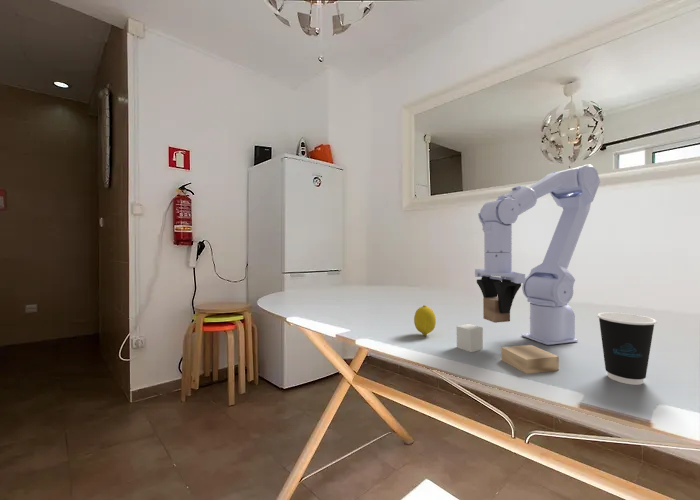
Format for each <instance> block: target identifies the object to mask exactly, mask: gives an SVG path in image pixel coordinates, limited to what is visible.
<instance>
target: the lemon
mask: <svg viewBox="0 0 700 500" xmlns="http://www.w3.org/2000/svg"><path fill="white" fill-rule="evenodd" d="M436 323H437V321H436V315H435V311H434V310H432V308H430V307H429V306H427V305H426V304H424V305H423V306H420V307H419V308H417V309H416V311H415V313H414V318H413V324H414V326H415V328H416V330H417V331H418V332H419V333H421V334H422V335H423V336H427V335H428V334H430V333H432V332H433V331H434V329H435V328H436Z"/></svg>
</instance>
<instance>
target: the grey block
mask: <svg viewBox="0 0 700 500" xmlns="http://www.w3.org/2000/svg"><path fill="white" fill-rule="evenodd" d="M483 330H484V328H483V327H482V326H478V325H474V324H470V323H467V324H466V323H465V324H460V325H456V348H457V349H461V350H463V351H466V352H470V353H474V352H477V351H481V350H483V349H484V348H483V347H484V340H483V339H484V337H483V335H484V334H483V333H484V331H483Z"/></svg>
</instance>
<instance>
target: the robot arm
mask: <svg viewBox="0 0 700 500" xmlns="http://www.w3.org/2000/svg"><path fill="white" fill-rule="evenodd" d="M600 180H601V179H600V176H599V173H598V170H597V169H596V167H595V166H593V165H592V164H584V165H582V166H581V165H580V166H577V167H573V168H569V169H564V170H560V171H552V172H550V173H548V174H545V176H544V177H543V178H541V179H540V180H537V181H536V182H535V183H534V184H533V183H532V184H531V185H530V186H526V185H516V186H513V187H512V188H511V191H510V192H508V193H506V194H500V195H498V196H497V199H496V200H494V201H493V200H492V201H487V202H485V203H484V204H483V205H482V207H481V209H480V211H479V213H478V219H479V222H480V223H481V226H482V231H483V234H484V241H483V242H484V245H483V246H484V247H483V249H484V250H483V252H484V258H483V259H484V268H474V276H475V277H477V278H479V279H476V284H477V285H478V287H479V289H480V291H481V294H482V296H483V298H484V297H498V302H499V311H500V313H510V314H511V308H512V306H513V302H514V299H515V297H516V295H517V293H518V291H519V289H520V288H521V289H522V294H523V295H524V297H525V298H526V299H527V300H526V301H527V302H528V303H529V333H528V332H527V333H521V337H523V338H527V339H530V340H532V341H534V342H535V341H536V342H537V343H541V344H544V345H546V346H550V345H558V344H569V343H577V342H579V339H577V338H576V336H575V335H576V333H575V332H576V331H575V329H576V322H575V321H576V315H575V311H574V309H573V308H572V307H571V306H570V305H569V303H570V301H571V300H572V298H573V296H574V284H575V281H576V278H575V277H574V276H573V274H572V273H571V272H570V271H569V270H568V267H569V265H570V263H571V260H572V258H573V255H574V252H575V249H576V246H577V244H578V241H579V238H580V237H581V233H582V231H583V229H584V225H585V223H586V221H587V217H588V215H589V212H590V210H591V204H592V203H593V202H594V199H595V197H596V194H597V191H598V189H599V186H600V183H601V181H600ZM548 194H550V196H551V198H552V199H553V201H554V202H555V203H556V205H557V206H558V207H560V208H562V211H561V215H560V217H559V219H558V223H557V225H556V228H555V230H554V232H553V235H552V238H551V240H550V242H549V245H548V248H547V251H546V252H545V256H544V258H543V260H542V262H541V263H539V264H538V265H537V266H535V267H533V268H531V269H530V272H529V274H528V276H526V274H525V273H519V272H515V271H512V257H513V255H512V254H513V253H512V250H513V249H512V248H513V247H512V244H513V243H512V239H513V238H512V236H513V235H512V233H513V232H512V228H513V227H512V226H513V224H514V223H516V221H517V220H518V217H519V216H520V215H522V214H524V213H526V212H528V210H531V209H532V208H534V206H536V204H537V202H538V201H537V200H538V199H539V198H542V197H544V196H546V195H548Z"/></svg>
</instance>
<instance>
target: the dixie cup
mask: <svg viewBox="0 0 700 500" xmlns="http://www.w3.org/2000/svg"><path fill="white" fill-rule="evenodd" d="M596 316H597V318H598V320H599V326H600V327H599V329H600V337H601V344H602V345H601V346H602V353H603V360H604V368H605V371H606V373H607V377H608V378H609V379H611V380H613V381H616V382H619V383H621V384H626V385H635V386H639V385H643V384H644V381H645V379H646V377H647V372H648V366H649V364H648V363H649V359H650V351H651V348H652V341H653V334H654V327H655V325H656V324H657V319H654V318H652V317H649V316H646V315H645V316H644V315H640V314H639V315H638V314H634V313H633V314H632V313H626V312H625V313H624V312H613V311H611V312H610V311H609V312H608V311H607V312H599V313H597V315H596Z"/></svg>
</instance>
